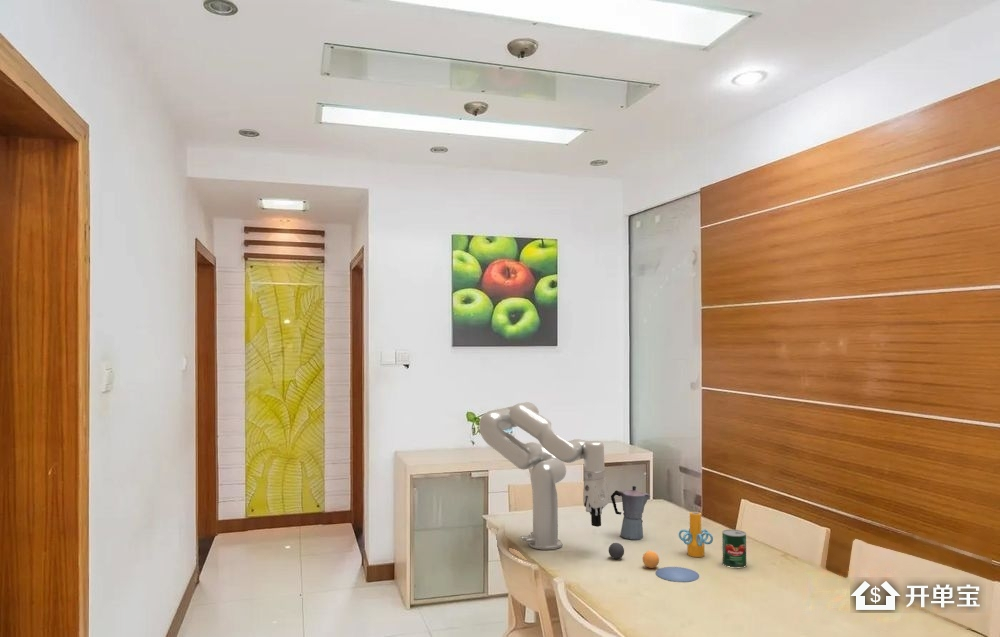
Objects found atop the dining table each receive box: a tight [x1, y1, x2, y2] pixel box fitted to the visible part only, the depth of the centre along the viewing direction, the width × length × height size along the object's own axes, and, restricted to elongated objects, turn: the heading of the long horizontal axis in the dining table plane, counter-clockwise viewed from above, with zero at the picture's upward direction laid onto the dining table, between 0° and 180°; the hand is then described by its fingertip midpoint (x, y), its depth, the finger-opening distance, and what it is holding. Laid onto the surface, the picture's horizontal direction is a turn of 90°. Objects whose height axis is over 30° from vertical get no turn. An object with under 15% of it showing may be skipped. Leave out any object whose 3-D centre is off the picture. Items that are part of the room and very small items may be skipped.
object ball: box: [642, 550, 660, 569], centre depth 231 cm, size 6×6×6 cm
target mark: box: [655, 566, 700, 583], centre depth 224 cm, size 14×14×1 cm
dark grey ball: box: [608, 542, 625, 560], centre depth 241 cm, size 6×6×6 cm
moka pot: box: [610, 485, 651, 540], centre depth 267 cm, size 10×15×20 cm, turn 89°
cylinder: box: [678, 511, 714, 558], centre depth 245 cm, size 12×10×15 cm
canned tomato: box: [721, 529, 747, 568], centre depth 234 cm, size 8×8×11 cm
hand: (596, 525), depth 247 cm, fingers closed
